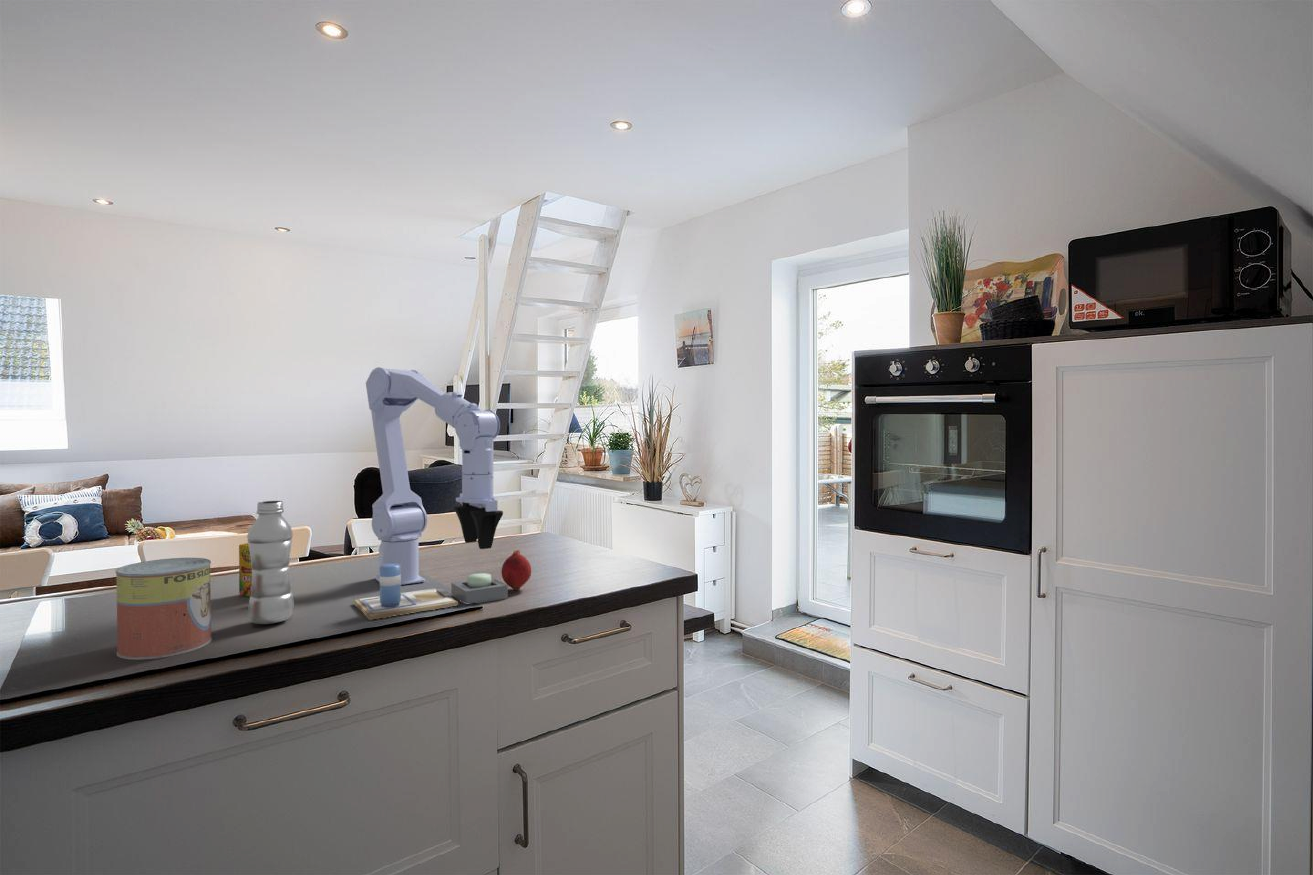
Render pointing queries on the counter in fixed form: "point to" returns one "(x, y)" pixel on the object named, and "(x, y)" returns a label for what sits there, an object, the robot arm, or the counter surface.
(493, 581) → the button pad
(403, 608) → the beige tray
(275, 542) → the plastic bottle
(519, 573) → the onion
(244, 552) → the crayon box
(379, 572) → the robot arm
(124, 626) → the canned food
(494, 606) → the counter surface
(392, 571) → the blue capped bottle
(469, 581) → the button
